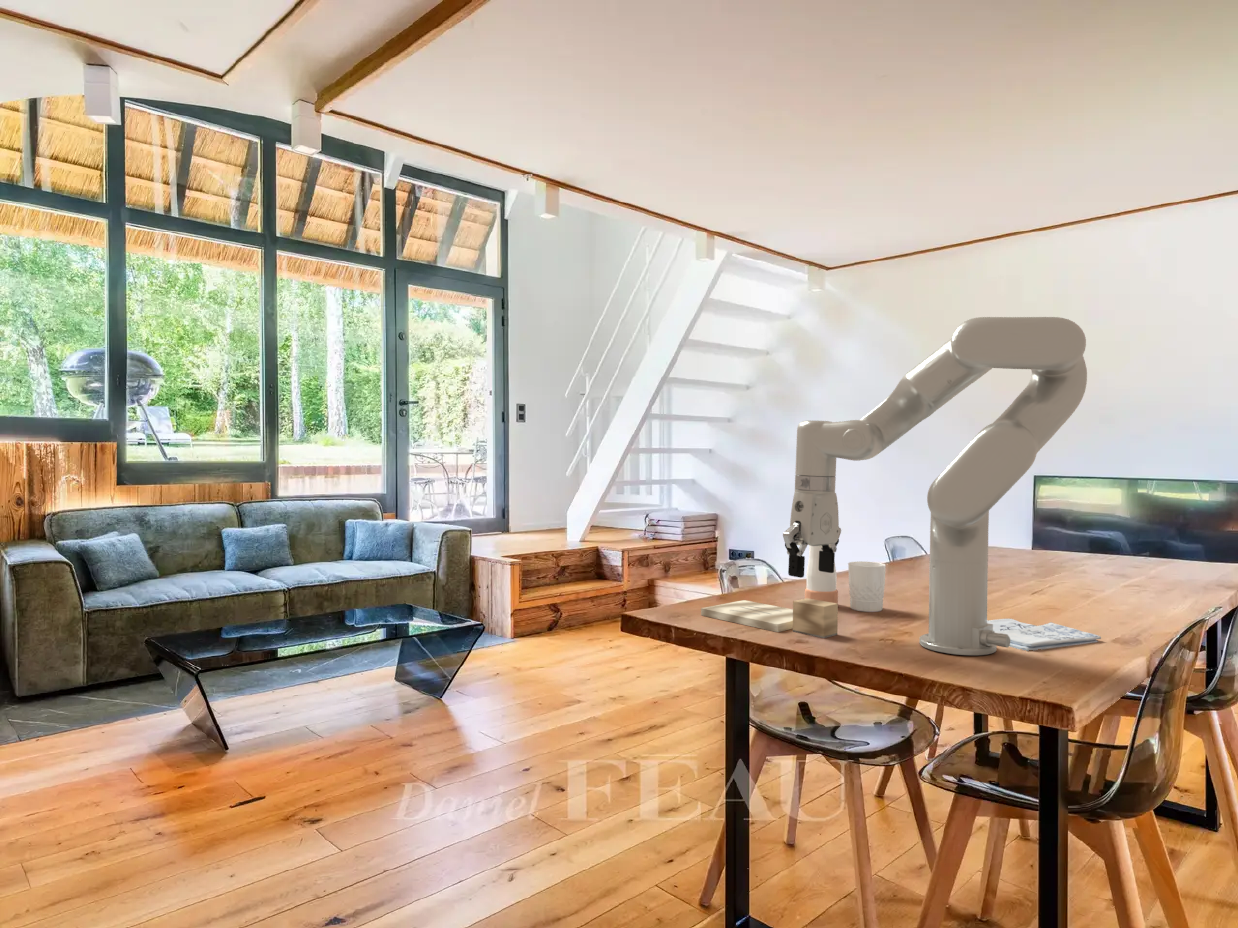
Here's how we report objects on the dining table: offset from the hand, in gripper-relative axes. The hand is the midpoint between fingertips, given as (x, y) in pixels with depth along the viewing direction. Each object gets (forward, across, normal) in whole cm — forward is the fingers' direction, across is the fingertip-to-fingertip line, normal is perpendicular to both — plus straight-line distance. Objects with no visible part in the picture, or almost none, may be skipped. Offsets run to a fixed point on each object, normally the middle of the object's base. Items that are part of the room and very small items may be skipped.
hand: (811, 574), depth 150 cm
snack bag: (+11, +30, -27) cm, 41 cm away
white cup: (+11, +28, +5) cm, 31 cm away
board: (+12, +2, +14) cm, 18 cm away
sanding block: (+11, 0, -1) cm, 11 cm away
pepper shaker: (+12, +24, +14) cm, 30 cm away
